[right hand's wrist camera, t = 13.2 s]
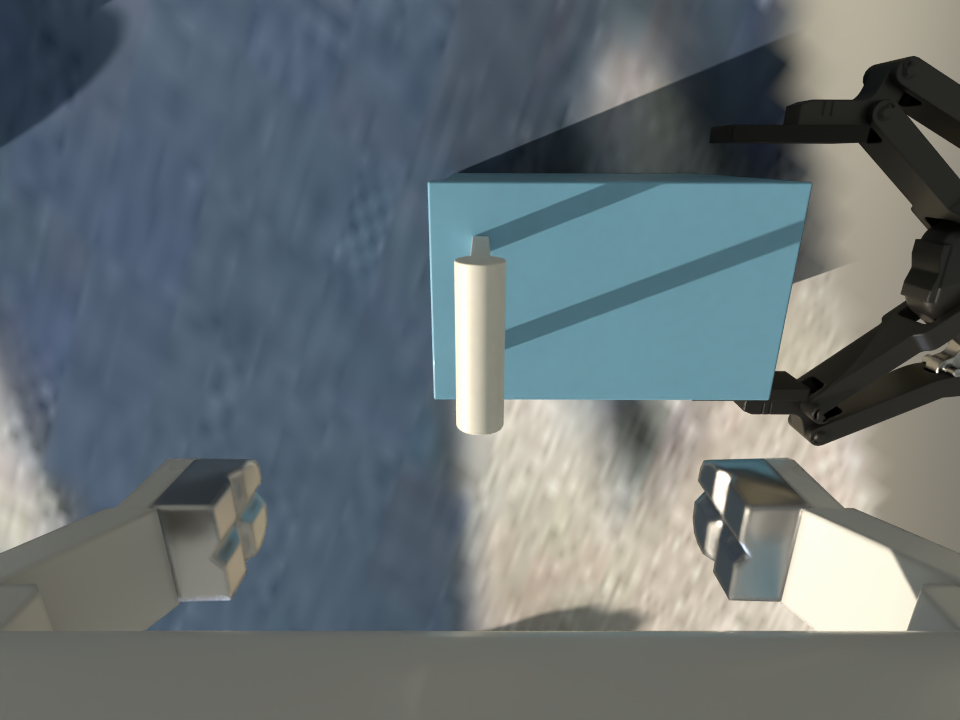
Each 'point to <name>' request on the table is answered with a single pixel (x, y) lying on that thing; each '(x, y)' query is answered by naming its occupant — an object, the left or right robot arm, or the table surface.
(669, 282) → the lid
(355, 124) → the table surface
